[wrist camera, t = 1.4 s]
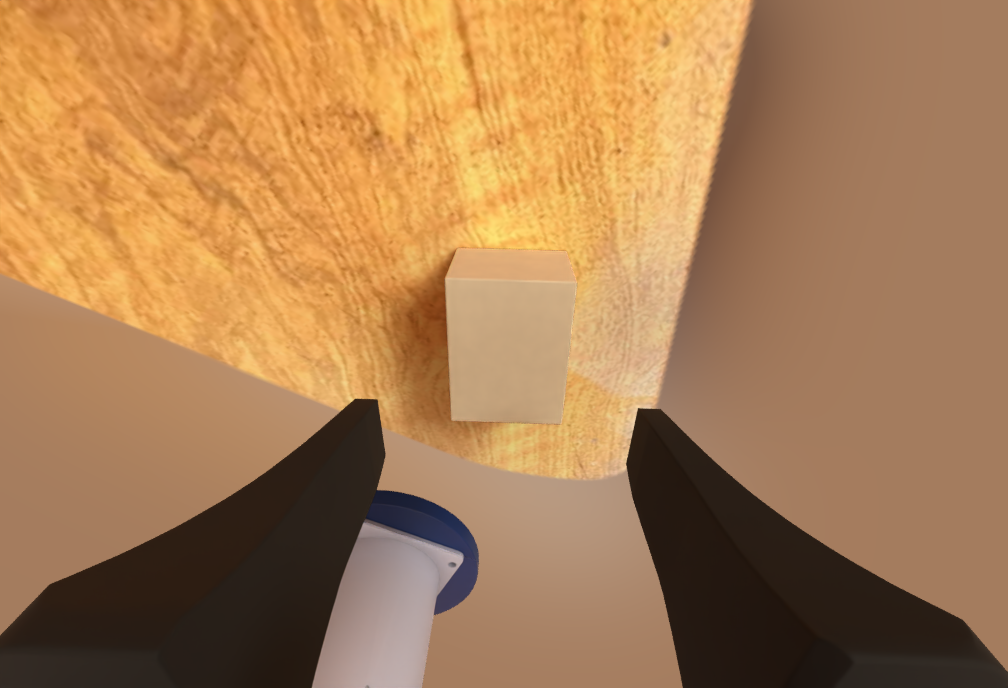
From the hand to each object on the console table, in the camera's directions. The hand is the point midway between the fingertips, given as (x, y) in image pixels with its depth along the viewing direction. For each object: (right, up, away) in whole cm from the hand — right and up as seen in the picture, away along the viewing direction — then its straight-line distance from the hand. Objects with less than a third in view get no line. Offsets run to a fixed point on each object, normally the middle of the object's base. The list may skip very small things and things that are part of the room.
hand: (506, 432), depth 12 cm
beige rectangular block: (0, +4, +7) cm, 8 cm away
